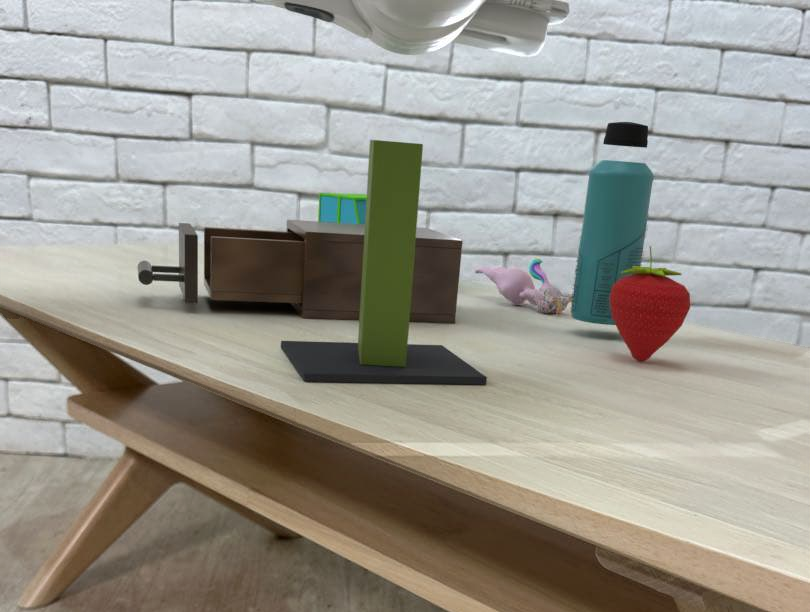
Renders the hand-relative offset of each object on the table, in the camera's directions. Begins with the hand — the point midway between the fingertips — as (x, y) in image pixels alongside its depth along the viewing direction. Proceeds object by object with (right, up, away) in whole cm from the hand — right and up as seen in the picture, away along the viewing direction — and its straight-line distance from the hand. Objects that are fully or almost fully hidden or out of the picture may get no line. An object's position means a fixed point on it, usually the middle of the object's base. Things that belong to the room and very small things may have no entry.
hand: (393, 17), depth 73 cm
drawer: (-16, -14, +27) cm, 35 cm away
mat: (-1, -25, +6) cm, 25 cm away
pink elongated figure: (+14, -11, +43) cm, 46 cm away
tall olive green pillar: (-1, -24, +6) cm, 25 cm away
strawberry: (+22, -23, +16) cm, 35 cm away
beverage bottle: (+21, -18, +28) cm, 39 cm away
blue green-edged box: (-3, -6, +52) cm, 53 cm away
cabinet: (-3, -14, +31) cm, 34 cm away
